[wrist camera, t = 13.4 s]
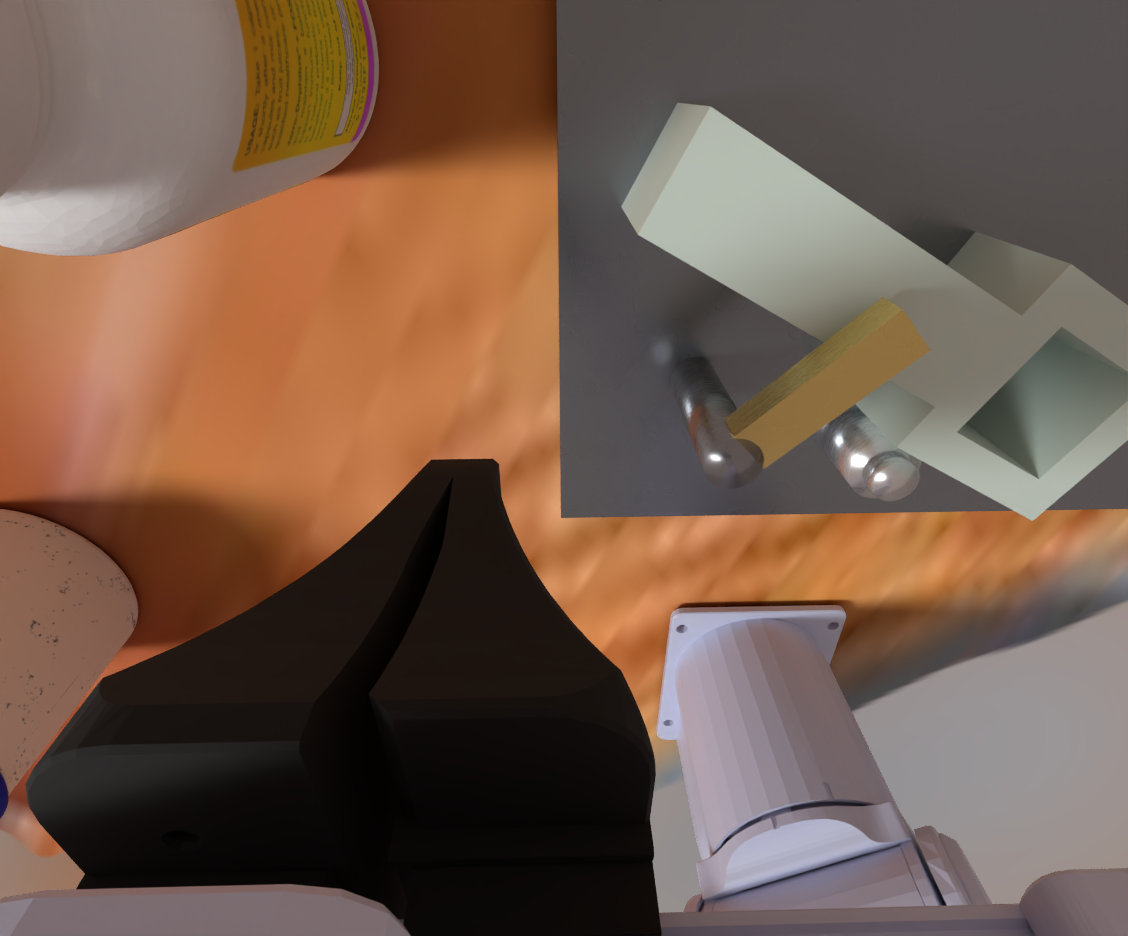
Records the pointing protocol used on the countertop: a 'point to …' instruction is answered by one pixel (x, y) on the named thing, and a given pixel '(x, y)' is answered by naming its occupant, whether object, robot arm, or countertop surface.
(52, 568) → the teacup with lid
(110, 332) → the countertop surface
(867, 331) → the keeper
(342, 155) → the supplement bottle
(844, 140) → the base plate
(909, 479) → the silver calibration weight
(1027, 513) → the link
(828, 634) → the robot arm
